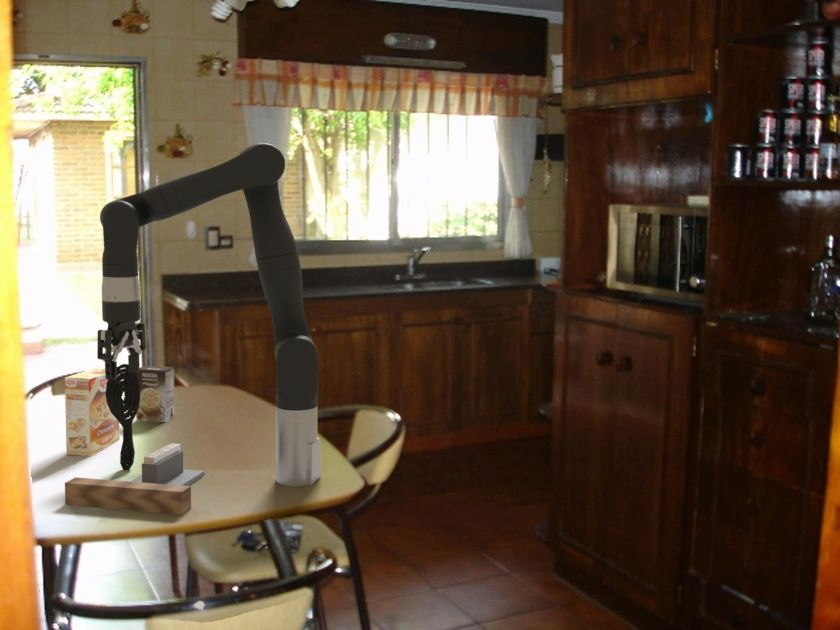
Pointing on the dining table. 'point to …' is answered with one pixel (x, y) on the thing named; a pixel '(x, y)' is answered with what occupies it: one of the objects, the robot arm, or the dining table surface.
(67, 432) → the coffeecake box
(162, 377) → the coffee box
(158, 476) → the fulcrum
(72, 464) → the dining table surface
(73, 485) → the batten
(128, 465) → the hairbrush
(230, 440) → the dining table surface
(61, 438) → the dining table surface
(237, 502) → the dining table surface
